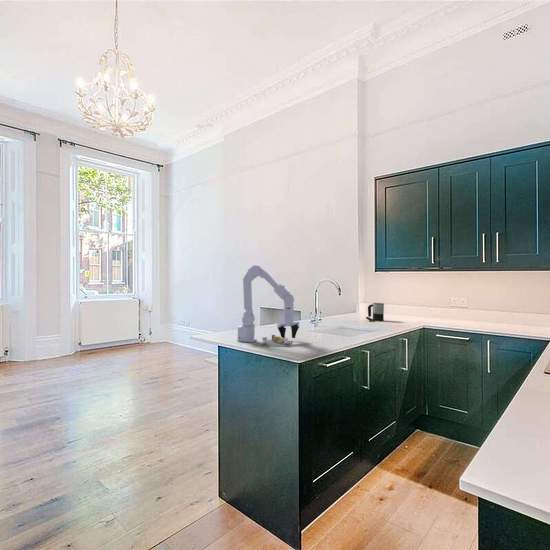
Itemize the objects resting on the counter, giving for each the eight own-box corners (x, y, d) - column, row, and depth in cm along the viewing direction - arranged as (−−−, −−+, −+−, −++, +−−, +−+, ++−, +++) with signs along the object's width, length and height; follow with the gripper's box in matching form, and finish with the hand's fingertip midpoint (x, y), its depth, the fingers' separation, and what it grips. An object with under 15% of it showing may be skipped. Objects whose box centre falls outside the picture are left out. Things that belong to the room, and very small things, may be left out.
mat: (260, 345, 194) (260, 344, 194) (268, 340, 209) (268, 339, 209) (287, 347, 190) (287, 346, 190) (293, 341, 205) (293, 341, 205)
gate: (271, 340, 203) (271, 334, 203) (273, 340, 204) (273, 334, 204) (282, 343, 195) (282, 337, 195) (284, 343, 196) (284, 337, 196)
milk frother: (384, 320, 303) (384, 303, 302) (382, 322, 288) (383, 304, 288) (367, 319, 308) (367, 302, 308) (364, 321, 293) (365, 303, 293)
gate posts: (261, 345, 193) (261, 338, 193) (262, 344, 196) (262, 337, 196) (287, 346, 192) (287, 338, 192) (287, 345, 195) (287, 337, 195)
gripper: (282, 316, 198) (282, 341, 198) (302, 315, 206) (302, 338, 206) (275, 315, 203) (275, 339, 204) (295, 313, 212) (294, 336, 212)
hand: (288, 338), depth 205 cm, fingers open, 7 cm apart
